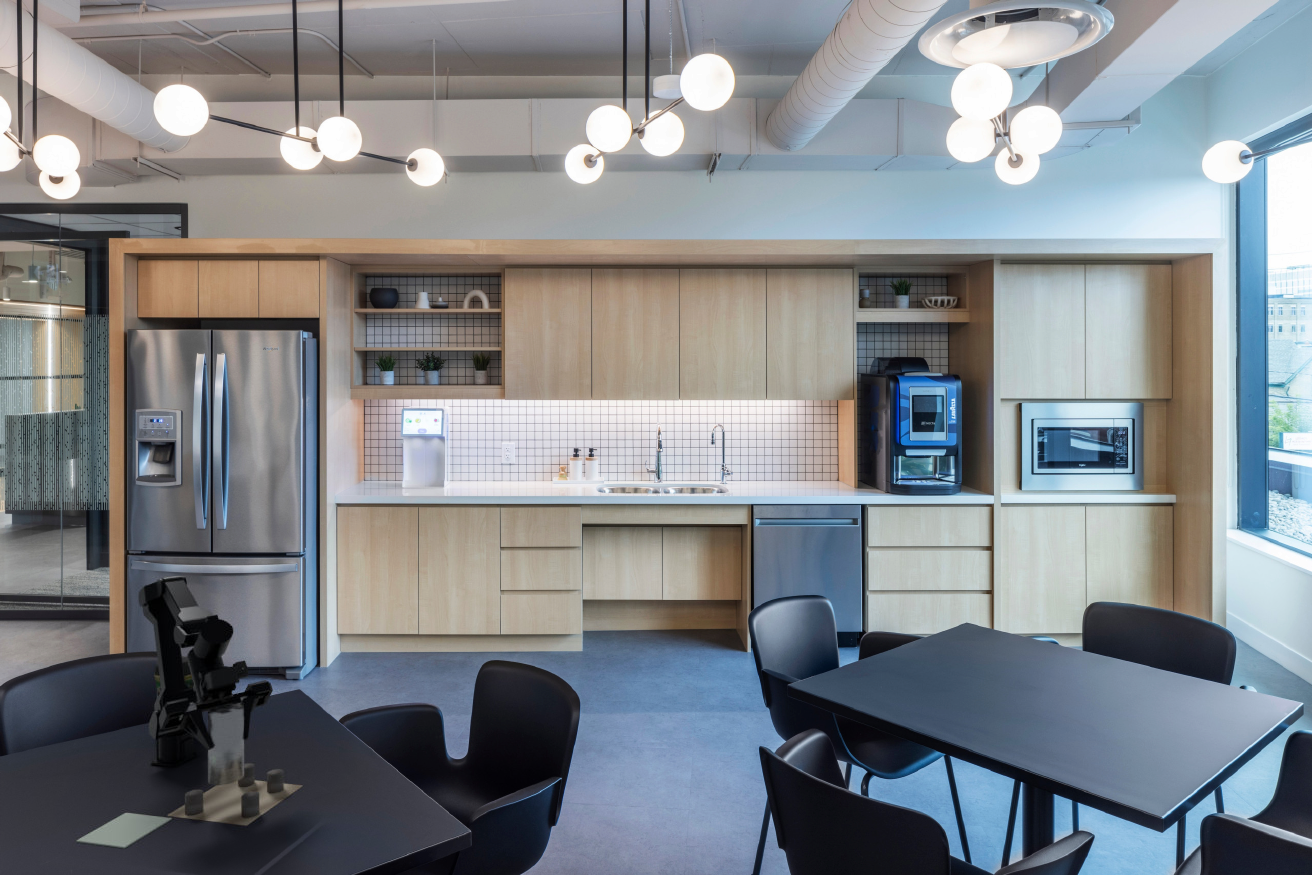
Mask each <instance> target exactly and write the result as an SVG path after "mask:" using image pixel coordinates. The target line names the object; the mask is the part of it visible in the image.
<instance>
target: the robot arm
mask: <svg viewBox="0 0 1312 875" xmlns="http://www.w3.org/2000/svg"><path fill="white" fill-rule="evenodd" d="M137 598H138V604H139V607H142V613H143V614H142V615H143V616H144V617H145V618H146V619H147V620H148V621H149V622H150V624H152V626H153V632H154V642H155V649H156V658H157V662H158V667H159V675H160V683H161V692H160V694H159V696H158V698H157V697H156V700H155V703H154V705H153V706H154V707H153V708H154V711H152V715H151V717H150V720H149V722H148V732H149V735H150V736H151V737H152V738H153V740H154V741H155V742H156V743H155V745H156V746H155V747H156V749H155V750H156V758H155V759H153V760H151V761H150V765H154V766H155V765H156V766H164V767H177V766H179V765H181V764H183V763H186V762H187V761H188V760H191V759H192V758H195V757H196V756H198V752H196V751H194V738H195V739H196V740H197V741H198V742H200V743H201V745H202V746H204V747H205V749H207V751H208V750H211V748H212V745H211V740H210V737H209V734H208V728H207V726H206V724H205V721H204V716H203V713H204V712H208V711H209V710H211V709H213V708H216V707H219V706H223V705H231V704H238V705H242V706H244V741H247V740H248V738H249V735H250V734H249V732H250V725H251V724H250V723H251V722H250V721H251V715H252V713H253V711H254V709H256V708H258V707H263V706H265V705H266V704H267V703H268V701H269V699H270V696H271V695H272V693H273V691H274V690H273V687H272V684H271V682H269V681H268V680H267V679H265V680H261V681H256V682H252V683H247V686H246V688H245V690H244V691H242V692H241V691H240V692H237V693H233V692H234V691H235V690H236V689H237V685H236V684H239V683H240V680H241V679H245V678H247V677H248V676H249V670H248V669H249V668H248V665H247V663H246V662H247V661H246V660H240V661H236V662H235V663H233V664H232V666H230V667H229V666H227V665H226V666H225V663H224V660H223V657H222V656H223V655H224V654H226V651H227V649H228V646H229V645H230V642H231V639H232V637H233V636H234V627H233V625H232V624H230V623H229V622H228V621H226V620H225V619H220V617H219V616H218V614H213V612H212V611H210V610H209V609H205V608H202V607H201V606H199V604H198V602H197V600H196V598H195V597H194V594H193V593H192V592H191V590H190V588H189V587H188V581H187V578H186V576H184V575H183V576H182V575H176V576H175V575H173V576H166V577H165V576H164V577H161V578H159V579H157V580H156V581H155V582H152V583H149V584H145V585H144V586H142V588H140V590H139V591H138V597H137ZM191 647H192V648H191ZM185 648H191V649H190V650H189V651H188V653H187V656H186V657H187V660H188V666H189V667H190V671H191V675H192V679H193V682H194V686H193V688H192V689H190V688H189V687H188V686H187V685H186V683H185V677H184V670H183V662H182V649H185ZM195 691H196V692H195ZM196 693H197V697H198V701H199V702H198V701H197V700H196ZM159 728H160V729H159ZM192 735H193V737H192Z"/></svg>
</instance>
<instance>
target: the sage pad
mask: <svg viewBox="0 0 1312 875" xmlns="http://www.w3.org/2000/svg"><path fill="white" fill-rule="evenodd" d="M171 821H172V817H164V816H156V815H155V816H154V815H147V814H140V813H132V812H131V813H130V812H125V813H123V814H121V815H119V816H118V817H116V818H114V819H112V820H110V821H108V822H107V823H105V824H103V825H102V826H100V827H98V828H96V829H95V830H93V831H91V832H89V833H88V834H85V835H84V836H82V837H80V838H79V839H77V840H76V843H81V844H89V845H95V846H98V845H99V846H103V847H111V848H119V849H126V848H128V847H130V846H131V845H133V844H135V843H136V842H138V841H140V840H141V839H143V838H145V837H146V836H147V835H149V834H151V833H152V832H154V831H156V830H157V829H159V828H161V827H162V826H164V825H165V824H168V822H171Z"/></svg>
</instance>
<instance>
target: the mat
mask: <svg viewBox="0 0 1312 875" xmlns="http://www.w3.org/2000/svg"><path fill="white" fill-rule="evenodd" d="M255 766H256V765H255V763H250V762H249V763H244V777H243V778H242V779H240V780H238V781H236V782H234V783H231V784H226V785H214V786H213V787H211V788H210V789H209V790H207V791H205V792H204V790H203V789H192V790H190V791H187V792H186V793H185V794H184V805H182V806H180V807H179V808H176V809H175V810H174V811H172V812H171V813H168V814H167V815H166V816H167V817H171V818H172V817H173V818H182V819H189V820H198V821H205V822H206V821H207V822H215V823H222V824H231V825H238V826H248V825H250V824H251V823H253V822H254V821H255V820H257V819H258V818H259V817H261V816H262V815H264V814H265V813H267V812H269V811H270V810H271V809H272V808H274V807H275V806H277V805H278V804H280V803H281V802H282V801H284V800H285V799H286V798H288V797H290V796H291V795H293V793H296V792H297V791H299V790H300V789H301V788H302V787H303V785H300V784H291V783H285V780H284V779H285V777H284V776H285V771H284V769H282V768H281V769H280V768H279V769H278V768H276V769H272V770H269V771H268V772H267V773H266V781H265V780H263V781H262V780H256V771H255V770H256V769H255Z"/></svg>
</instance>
